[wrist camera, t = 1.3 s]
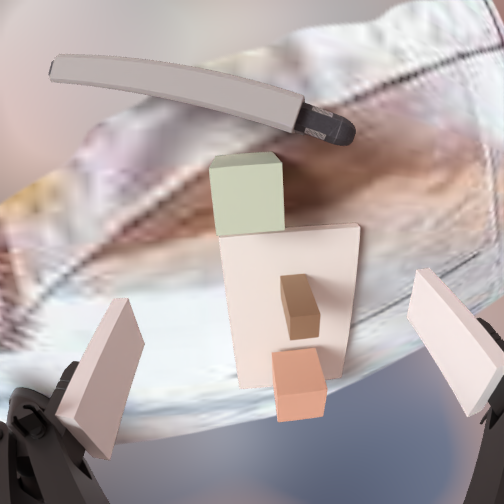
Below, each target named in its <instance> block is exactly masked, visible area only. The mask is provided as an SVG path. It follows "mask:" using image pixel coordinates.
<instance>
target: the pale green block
mask: <svg viewBox="0 0 504 504" xmlns="http://www.w3.org/2000/svg"><path fill="white" fill-rule="evenodd" d="M209 174H210V183H211V192H212V201H213V210H214V218H215V227H216V235H217V236H221V235H233V234H245V233H257V232H270V231H283V230H285V224H284V197H283V173H282V162H281V161H280V160H279V159H278V158H277V157H276V155H275V154H274V153H273V152H258V153H245V154H232V155H222V156H215V158H214V160H213V162H212V164H211V166H210V168H209Z"/></svg>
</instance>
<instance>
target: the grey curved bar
mask: <svg viewBox="0 0 504 504" xmlns="http://www.w3.org/2000/svg"><path fill="white" fill-rule="evenodd" d="M49 76H50V80H51V82H57V83H67V84H77V85H86V86H94V87H102V88H109V89H115V90H122V91H128V92H134V93H139V94H145V95H150V96H155V97H160V98H165V99H170V100H175V101H179V102H184V103H188V104H192V105H196V106H200V107H204V108H208V109H212V110H216V111H220V112H224V113H227V114H231V115H235V116H238V117H242V118H245V119H248V120H252V121H255V122H258V123H262V124H265V125H268V126H271V127H274V128H277V129H280V130H283V131H286V132H289V133H294V132H295V133H298V134H301V135H304V134H307V135H310V136H313V137H316V138H318V139H321V140H324V141H326V142H329V143H332V144H335V145H340V146H347V145H350V144H351V143H352V142H353V139H354V136H355V134H356V129H355V127H354V125H353V124H352V123H351V122H350V121H349V120H347V119H346V118H344V117H342V116H339V115H337V114H334V113H332V112H329V111H326V110H324V109H321V108H318V107H315V106H312V105H310V104H307V103H305V99H304V96H303V95H300V94H297V93H294V92H291V91H288V90H285V89H282V88H278V87H275V86H272V85H268V84H265V83H261V82H257V81H254V80H250V79H246V78H242V77H238V76H234V75H230V74H225V73H221V72H217V71H212V70H207V69H202V68H197V67H192V66H186V65H180V64H174V63H168V62H161V61H154V60H146V59H138V58H127V57H116V56H102V55H78V54H59V55H58V56H56V57H55V59H54V60H53V61H52V63H51V67H50V70H49Z"/></svg>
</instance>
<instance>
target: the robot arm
mask: <svg viewBox="0 0 504 504" xmlns="http://www.w3.org/2000/svg"><path fill="white" fill-rule="evenodd" d="M407 319H408V320H409V322H410V323H411V325H412V326H413V328H414V329H415V331H416V332H417V334H418V335H419V337H420V338H421V340H422V341H423V343H424V345H425V346H426V348H427V349H428V351H429V352H430V354H431V356H432V357H433V359H434V360H435V362H436V364H437V365H438V367H439V369H440V370H441V372H442V374H443V375H444V377H445V379H446V380H447V382H448V384H449V386H450V387H451V389H452V391H453V393H454V394H455V396H456V398H457V400H458V401H459V403H460V405H461V407H462V408H463V410H464V412H465V414H466V416H467V417H469V416H471V415H473V414H476V413H478V412H480V411H481V410H482V409H483V408H484V406H485V405H486V403H487V402H489V404H490V405H491V407H490V408H489V410H488V411H487V413H486V414H485V416H484V417H483V418H482V420H481V422H480V424H483V422H484V420H486V418H487V420H486V424H485V429H484V434H483V439H482V443H481V447H480V451H479V455H478V459H477V462H476V466H475V469H474V473H473V476H472V480H471V482H470V486H469V488H468V491H467V494H466V497H465V500H464V503H463V504H504V341H503V340H501V337H500V336H499V335H498V333H496V331H495V330H494V329H493V328H492V326H491V325H490V324H489V323H487V322H486V321H484V320H483V319H481V318H475V317H474V316H473V314H472V313H471V312H470V311H469V310H468V309H467V308H466V306H465V305H464V304H463V303H462V302H461V301H460V300H459V299H458V298H457V296H456V295H455V294H454V293H453V292H452V291H451V290H450V289H449V288H448V287H447V286H446V285H445V284H444V283H443V281H442V280H441V279H440V278H439V277H438V276H437V275H436V274H435V273H434V272H433V271H432V270H431V269H430V268H425V269H418V270H416V274H415V279H414V284H413V289H412V294H411V299H410V304H409V308H408V313H407ZM144 345H145V343H144V341H143V338H142V335H141V333H140V330H139V327H138V324H137V322H136V319H135V316H134V313H133V310H132V308H131V305H130V302H129V299H128V298H116V299H113V300H112V302H111V304H110V306H109V307H108V309H107V311H106V313H105V315H104V316H103V318H102V320H101V322H100V324H99V326H98V327H97V329H96V331H95V333H94V335H93V337H92V339H91V341H90V343H89V345H88V347H87V348H86V350H85V352H84V354H83V356H82V358H81V360H80V362H77V361H73V362H72V363H71V364H70V365H69V366H68V367H67V368H66V369H65V370H64V372H63V374H62V376H61V378H60V381H59V382H58V384H57V386H56V389H55V390H54V392H53V394H52V396H51V398H50V399H48V398H47V397H45V396H43V395H41V394H39V393H37V392H35V391H33V390H30V389H26V388H16V389H15V390H14V391H13V393H12V395H11V397H10V399H9V405H10V406H9V411H8V416H7V423H6V424H5V423H4V422H2V421H0V504H110V503H109V501H108V499H107V498H106V496H105V495H104V493H103V491H102V489H101V487H100V486H99V484H98V482H97V480H96V478H95V476H94V475H93V473H92V471H91V469H90V467H89V465H88V463H87V461H86V460H85V458H84V457H83V456H84V453H85V450H86V451H87V452H88V453H89V454H90V455H91V456H92V457H94V458H99V459H104V460H110V459H111V455H112V451H113V447H114V444H115V440H116V436H117V432H118V429H119V425H120V422H121V418H122V415H123V411H124V408H125V405H126V401H127V398H128V395H129V391H130V388H131V385H132V382H133V378H134V375H135V372H136V369H137V366H138V363H139V360H140V357H141V354H142V351H143V348H144Z"/></svg>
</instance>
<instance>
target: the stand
mask: <svg viewBox="0 0 504 504" xmlns="http://www.w3.org/2000/svg"><path fill="white" fill-rule="evenodd" d="M359 240H360V226H359V225H358V224H357V223H345V224H330V225H316V226H302V227H288V228H285V230H283V231H270V232H257V233H245V234H233V235H221V236H219V244H220V253H221V261H222V268H223V276H224V284H225V291H226V299H227V306H228V313H229V320H230V327H231V334H232V341H233V348H234V355H235V361H236V368H237V374H238V381H239V387H240V389H248V388H261V387H272V386H273V387H274V395H275V403H276V411H277V419H278V422H284V421H292V420H301V419H308V418H315V417H321V416H323V412H324V407H325V402H326V396H327V390H328V389H327V386H326V382H325V380H329V379H335V378H341V377H342V371H343V366H344V360H345V354H346V348H347V342H348V336H349V329H350V322H351V315H352V308H353V300H354V292H355V283H356V273H357V263H358V252H359Z"/></svg>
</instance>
